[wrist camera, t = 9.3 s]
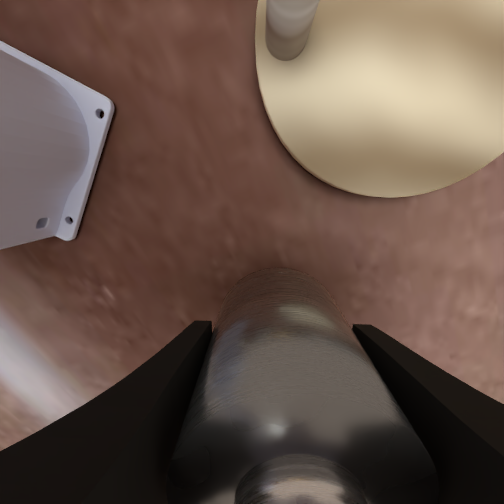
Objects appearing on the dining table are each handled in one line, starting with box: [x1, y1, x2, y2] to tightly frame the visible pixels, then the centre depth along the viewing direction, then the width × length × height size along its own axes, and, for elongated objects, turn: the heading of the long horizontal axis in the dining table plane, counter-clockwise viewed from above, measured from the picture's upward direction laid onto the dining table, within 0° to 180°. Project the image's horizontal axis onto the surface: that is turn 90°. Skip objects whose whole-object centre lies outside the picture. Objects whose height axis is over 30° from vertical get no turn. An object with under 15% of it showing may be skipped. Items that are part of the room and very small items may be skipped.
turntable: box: [255, 0, 504, 198], centre depth 10 cm, size 15×15×5 cm
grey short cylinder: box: [166, 268, 439, 504], centre depth 7 cm, size 5×5×7 cm
